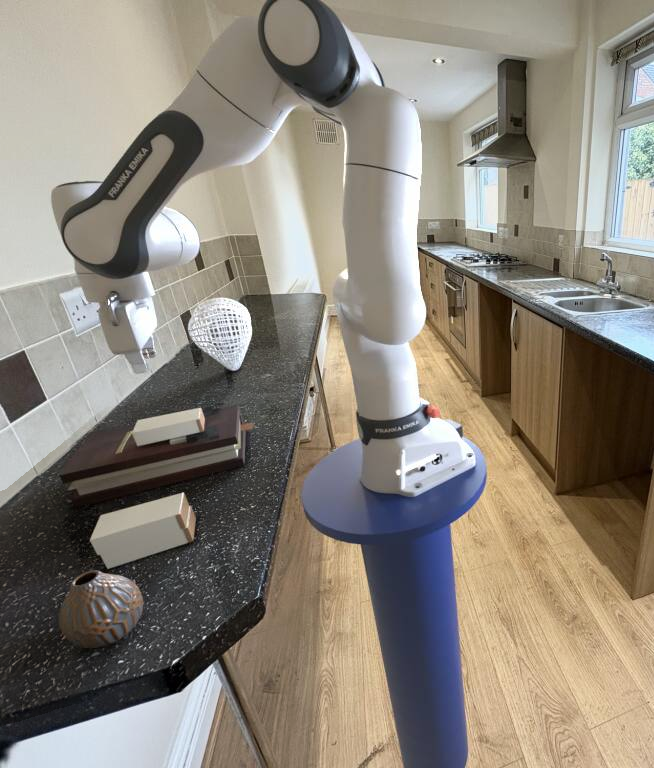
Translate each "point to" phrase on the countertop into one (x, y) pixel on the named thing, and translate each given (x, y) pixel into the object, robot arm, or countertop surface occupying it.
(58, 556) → the countertop surface
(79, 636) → the vase
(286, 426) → the countertop surface
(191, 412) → the cream block
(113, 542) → the beige rectangular block
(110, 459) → the decorative book
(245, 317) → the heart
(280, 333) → the countertop surface
